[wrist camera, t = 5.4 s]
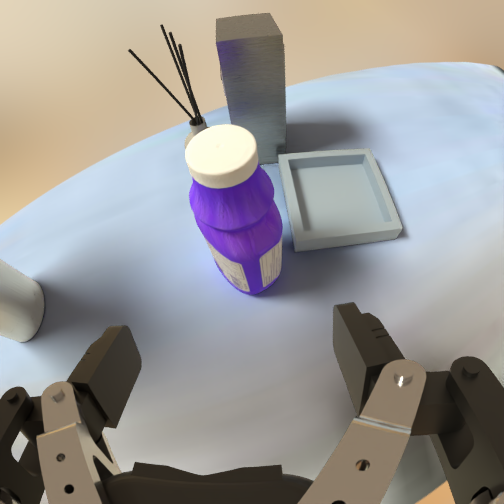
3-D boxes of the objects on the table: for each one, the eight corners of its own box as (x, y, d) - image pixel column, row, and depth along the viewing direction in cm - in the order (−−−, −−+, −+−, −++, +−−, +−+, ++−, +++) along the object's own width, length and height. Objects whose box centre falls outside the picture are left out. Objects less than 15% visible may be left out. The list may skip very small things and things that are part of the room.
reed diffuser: (239, 177, 36) (210, 30, 18) (188, 199, 36) (129, 58, 18) (212, 132, 41) (182, 10, 23) (169, 150, 40) (122, 32, 22)
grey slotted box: (236, 167, 37) (212, 42, 21) (233, 129, 41) (213, 19, 24) (291, 161, 37) (292, 34, 21) (281, 123, 40) (277, 12, 24)
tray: (294, 252, 31) (295, 241, 29) (278, 168, 36) (278, 154, 34) (395, 239, 31) (402, 228, 29) (365, 161, 36) (369, 148, 34)
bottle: (292, 274, 30) (303, 153, 15) (249, 309, 29) (213, 213, 13) (248, 228, 33) (223, 98, 17) (208, 258, 32) (148, 141, 16)
